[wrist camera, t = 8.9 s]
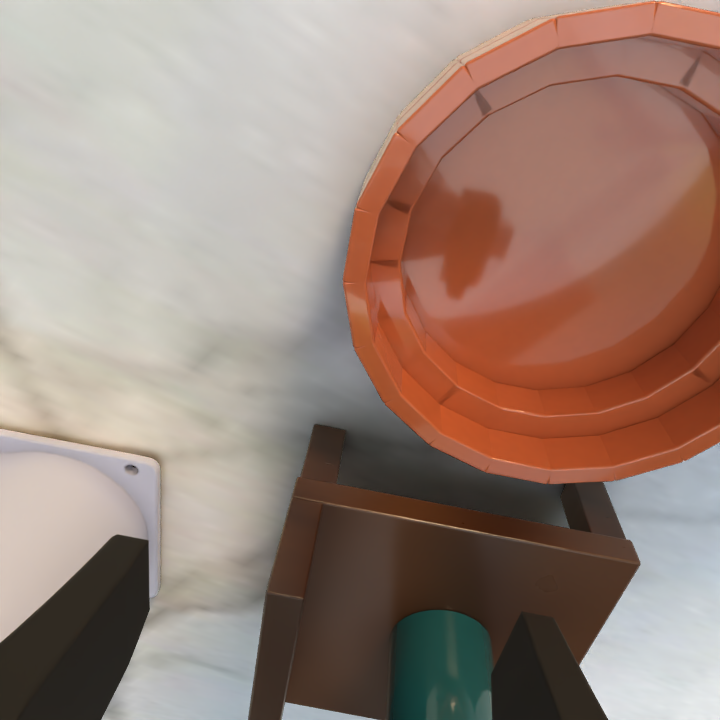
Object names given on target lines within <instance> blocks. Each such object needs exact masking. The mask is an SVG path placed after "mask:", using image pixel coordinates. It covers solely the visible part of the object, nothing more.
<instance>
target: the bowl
mask: <svg viewBox="0 0 720 720" xmlns="http://www.w3.org/2000/svg"><path fill="white" fill-rule="evenodd" d="M343 288H344V294H345V300H346V307H347V313H348V319H349V325H350V331H351V337H352V343H353V346H354V350H355V352H356V354H357V356H358V357H359V359H360V361H361V363H362V365H363V367H364V368H365V370H366V372H367V374H368V376H369V377H370V379H371V381H372V383H373V385H374V387H375V388H376V390H377V392H378V394H379V396H380V398H381V399H382V401H383V402H384V403H385V405H386V406H387V407H388V408H389V409H390V410H392V411H393V412H394V413H395V414H396V415H397V416H398V417H399V418H400V419H401V420H402V421H403V422H404V423H406V424H407V425H408V426H409V427H410V428H411V429H412V430H413V431H414V432H415V433H416V434H417V435H418V436H420V437H421V438H422V439H423V440H424V441H425V442H426V443H427V444H429V445H430V446H431V447H433V448H436V449H438V450H440V451H442V452H444V453H446V454H448V455H450V456H452V457H454V458H456V459H458V460H460V461H462V462H464V463H466V464H468V465H470V466H472V467H474V468H476V469H479V470H481V471H483V472H484V471H485V472H486V473H490V474H496V475H501V476H506V477H511V478H516V479H521V480H527V481H532V482H537V483H542V484H547V483H548V484H567V483H587V482H608V481H614V480H621V479H625V478H628V477H632V476H635V475H639V474H642V473H646V472H649V471H653V470H657V469H660V468H664V467H667V466H671V465H674V464H678V463H681V462H683V460H684V461H686V460H688V459H690V458H692V457H694V456H696V455H697V454H699V453H701V452H703V451H705V450H707V449H709V448H710V447H712V446H714V445H716V444H718V443H720V13H718V12H713V11H708V10H703V9H698V8H693V7H688V6H684V5H679V4H674V3H669V2H664V1H647V2H638V3H630V4H621V5H612V6H606V7H599V8H593V9H587V10H581V11H574V12H568V13H562V14H555V15H549V16H543V17H537V18H532V19H531V20H526V21H524V22H522V23H521V24H519V25H517V26H515V27H513V28H511V29H509V30H507V31H505V32H503V33H501V34H499V35H498V36H496V37H494V38H492V39H490V40H488V41H486V42H484V43H482V44H480V45H478V46H477V47H475V48H473V49H471V50H469V51H467V52H465V53H463V54H461V55H459V56H458V57H457V58H456V59H454V60H453V61H452V62H451V63H450V64H449V65H448V66H447V67H446V68H445V69H444V70H443V71H442V72H441V73H440V74H439V75H438V76H437V77H436V78H435V79H434V80H433V81H432V82H431V83H430V84H429V85H428V86H427V87H426V88H425V89H424V90H423V91H422V92H421V93H420V94H419V95H418V96H417V97H416V98H415V99H414V100H413V101H412V102H411V103H410V104H409V105H408V106H407V107H406V108H405V109H404V110H403V111H402V112H401V113H400V115H399V116H398V117H397V119H396V120H395V122H394V124H393V126H392V128H391V130H390V132H389V134H388V136H387V138H386V140H385V141H384V143H383V145H382V147H381V149H380V151H379V153H378V155H377V157H376V159H375V160H374V162H373V164H372V166H371V168H370V170H369V172H368V174H367V176H366V178H365V181H364V184H363V187H362V189H361V192H360V195H359V198H358V201H357V204H356V207H355V210H354V215H353V221H352V227H351V233H350V239H349V245H348V251H347V256H346V262H345V268H344V274H343Z"/></svg>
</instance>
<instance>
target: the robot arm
mask: <svg viewBox="0 0 720 720" xmlns="http://www.w3.org/2000/svg"><path fill="white" fill-rule="evenodd" d="M131 465H133V466H135V467H136V468H137V469H136V468H133V467H132V466H131ZM160 553H161V468H160V465H159V464H158V462H157V461H156V460H154V459H153V458H150V457H146V456H141V455H135V454H130V453H125V452H120V451H115V450H109V449H104V448H99V447H94V446H89V445H83V444H78V443H73V442H68V441H63V440H57V439H52V438H47V437H42V436H37V435H31V434H26V433H21V432H16V431H10V430H5V429H0V720H101V719H102V717H103V715H104V713H105V711H106V709H107V707H108V705H109V703H110V701H111V699H112V697H113V695H114V693H115V691H116V689H117V687H118V685H119V683H120V681H121V679H122V677H123V675H124V673H125V671H126V669H127V667H128V665H129V662H130V660H131V657H132V654H133V652H134V649H135V647H136V644H137V642H138V639H139V636H140V634H141V631H142V628H143V626H144V623H145V620H146V618H147V615H148V612H149V610H150V606H149V598H153V597H155V596H157V594H158V592H159V590H160ZM491 698H492V720H608V718H607V717H606V715H605V713H604V711H603V709H602V708H601V706H600V704H599V702H598V700H597V699H596V697H595V695H594V693H593V691H592V689H591V687H590V686H589V684H588V682H587V680H586V678H585V676H584V674H583V672H582V671H581V669H580V667H579V665H578V663H577V661H576V659H575V657H574V655H573V653H572V651H571V649H570V648H569V646H568V644H567V642H566V640H565V638H564V636H563V634H562V632H561V630H560V628H559V626H558V624H557V622H556V621H555V619H554V618H553V617H549V616H544V615H539V614H534V613H528V612H523V611H522V612H521V614H520V616H519V618H518V620H517V622H516V624H515V626H514V628H513V630H512V632H511V634H510V636H509V638H508V640H507V642H506V644H505V646H504V649H503V651H502V653H501V655H500V657H499V659H498V661H497V663H496V665H495V667H494V669H493V671H492V673H491Z"/></svg>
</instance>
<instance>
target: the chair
mask: <svg viewBox="0 0 720 720" xmlns="http://www.w3.org/2000/svg"><path fill="white" fill-rule="evenodd" d="M345 434H346V431H345V430H342V429H337V428H332V427H326V426H321V425H314V427H313V430H312V434H311V438H310V442H309V446H308V450H307V453H306V457H305V461H304V465H303V469H302V472H301V476H300V477H297V479H296V482H295V486H294V490H293V493H292V497H291V501H290V504H289V508H288V512H287V515H286V519H285V523H284V527H283V530H282V534H281V538H280V541H279V545H278V549H277V553H276V556H275V560H274V564H273V567H272V571H271V575H270V579H269V582H268V586H267V590H266V595H265V602H264V609H263V616H262V624H261V631H260V638H259V645H258V652H257V659H256V666H255V674H254V681H253V688H252V695H251V702H250V709H249V716H248V720H282V715H283V710H284V705H285V702H287V703H293V704H298V705H303V706H309V707H314V708H319V709H324V710H330V711H335V712H340V713H346V714H351V715H356V716H362V717H367V718H372V719H378V720H385V712H386V690H387V669H388V648H389V636H390V633H391V631H392V629H393V628H394V626H395V625H396V624H397V623H398V622H399V621H400V620H402V619H403V618H405V617H407V616H409V615H411V614H413V613H417V612H420V611H425V610H449V611H455V612H459V613H462V614H465V615H467V616H469V617H471V618H473V619H475V620H477V621H478V622H479V623H480V624H482V625H483V626H484V627H485V629H486V630H487V631H488V633H489V635H490V638H491V641H492V650H493V658H494V666H495V665H496V663H497V661H498V659H499V657H500V655H501V653H502V651H503V649H504V646H505V644H506V642H507V640H508V638H509V636H510V634H511V632H512V630H513V628H514V626H515V624H516V622H517V620H518V618H519V616H520V614H521V612H522V611H523V612H528V613H534V614H539V615H544V616H549V617H553V618H554V619H555V621H556V622H557V624H558V626H559V628H560V630H561V632H562V634H563V636H564V638H565V640H566V642H567V644H568V646H569V648H570V649H571V651H572V653H573V655H574V657H575V659H576V661H577V663H578V665H580V663H581V661H582V660H583V658H584V657H585V655H586V653H587V652H588V650H589V648H590V647H591V645H592V643H593V642H594V640H595V638H596V637H597V635H598V634H599V632H600V630H601V629H602V627H603V625H604V624H605V622H606V620H607V619H608V617H609V615H610V614H611V612H612V611H613V609H614V607H615V606H616V604H617V602H618V601H619V599H620V597H621V596H622V594H623V592H624V591H625V589H626V587H627V586H628V584H629V583H630V581H631V579H632V578H633V576H634V574H635V573H636V571H637V569H638V568H639V566H640V560H639V558H638V555H637V553H636V551H635V548H634V546H633V543H632V542H631V541H630V540H627V539H626V538H625V535H624V533H623V530H622V528H621V525H620V523H619V520H618V518H617V515H616V513H615V511H614V508H613V506H612V503H611V501H610V498H609V496H608V493H607V491H606V489H605V486H604V484H603V482H587V483H567V484H566V485H565V488H564V490H563V492H562V494H561V496H560V498H561V501H562V505H563V508H564V511H565V514H566V518H567V521H568V524H569V528H570V529H569V528H564V527H559V526H554V525H548V524H543V523H538V522H533V521H528V520H522V519H517V518H512V517H507V516H502V515H496V514H491V513H486V512H481V511H476V510H470V509H465V508H460V507H455V506H450V505H444V504H439V503H434V502H429V501H424V500H418V499H413V498H408V497H403V496H398V495H392V494H387V493H382V492H377V491H372V490H366V489H361V488H356V487H351V486H346V485H340V484H337V479H338V474H339V468H340V463H341V457H342V451H343V446H344V440H345Z"/></svg>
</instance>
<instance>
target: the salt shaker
mask: <svg viewBox="0 0 720 720" xmlns="http://www.w3.org/2000/svg"><path fill="white" fill-rule="evenodd" d="M494 667H495V666H494V658H493V650H492V641H491V638H490V635H489V633H488V631H487V630H486V629H485V627H484V626H483V625H482V624H480V623H479V622H478V621H477V620H475V619H473V618H471V617H469V616H467V615H465V614H462V613H459V612H455V611H449V610H425V611H420V612H417V613H413V614H411V615H409V616H407V617H405V618H403V619H402V620H400V621H399V622H398V623H397V624H396V625H395V626H394V628H393V629H392V631H391V633H390V636H389V648H388V669H387V690H386V712H385V720H492V698H491V673H492V671H493V669H494Z"/></svg>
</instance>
